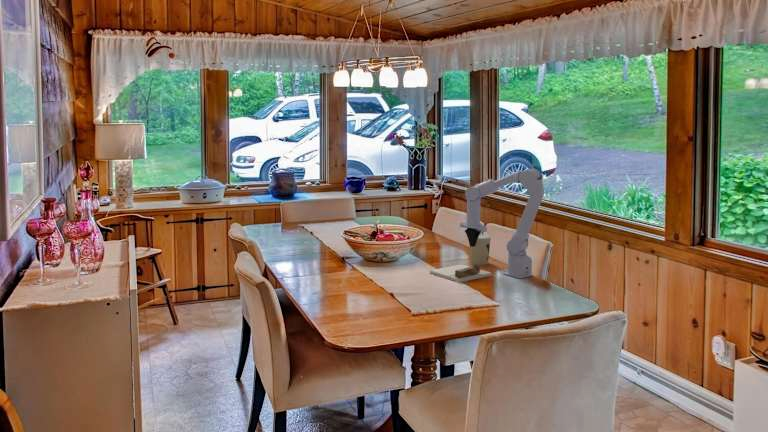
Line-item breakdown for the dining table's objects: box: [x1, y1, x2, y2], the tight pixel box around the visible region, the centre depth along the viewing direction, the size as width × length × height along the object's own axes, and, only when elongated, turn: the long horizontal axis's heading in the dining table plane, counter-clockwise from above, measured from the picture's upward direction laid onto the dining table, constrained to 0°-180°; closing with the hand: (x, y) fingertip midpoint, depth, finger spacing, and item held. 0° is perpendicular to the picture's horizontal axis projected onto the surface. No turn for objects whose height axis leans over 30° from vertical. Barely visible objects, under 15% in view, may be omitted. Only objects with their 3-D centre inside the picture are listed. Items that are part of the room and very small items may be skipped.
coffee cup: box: [469, 234, 491, 266], centre depth 301 cm, size 9×9×12 cm
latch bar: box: [455, 264, 481, 278], centre depth 275 cm, size 12×2×3 cm, turn 132°
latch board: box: [428, 264, 492, 283], centre depth 282 cm, size 18×18×1 cm
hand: (472, 246), depth 289 cm, fingers closed
